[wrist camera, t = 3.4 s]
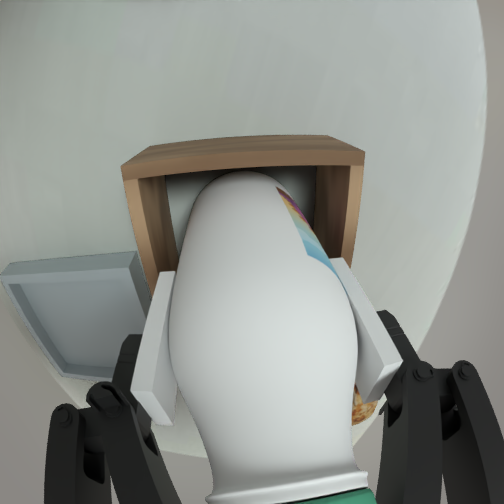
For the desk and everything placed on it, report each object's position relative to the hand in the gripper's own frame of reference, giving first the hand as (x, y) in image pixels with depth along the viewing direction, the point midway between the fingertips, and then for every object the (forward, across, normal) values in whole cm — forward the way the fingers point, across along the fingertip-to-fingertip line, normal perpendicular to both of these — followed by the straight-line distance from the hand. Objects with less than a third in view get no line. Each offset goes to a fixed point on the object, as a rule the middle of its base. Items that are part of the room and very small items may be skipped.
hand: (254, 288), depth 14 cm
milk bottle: (+8, 0, 0) cm, 8 cm away
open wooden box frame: (+9, 0, 0) cm, 9 cm away
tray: (+9, -17, -10) cm, 22 cm away
